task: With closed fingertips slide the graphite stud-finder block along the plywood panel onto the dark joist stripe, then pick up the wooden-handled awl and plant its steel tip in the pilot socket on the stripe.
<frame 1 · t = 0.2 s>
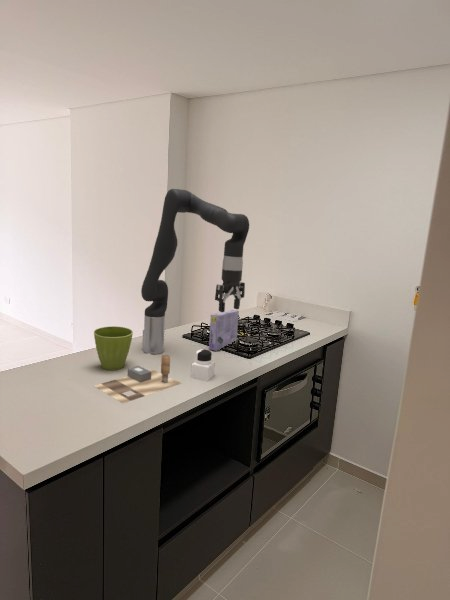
hand: (229, 310, 158), 29 cm above the worktop, fingers open, 8 cm apart
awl: (164, 381, 156), point 1 cm above the worktop, touching subfloor panel
finder: (139, 377, 158), point 1 cm above the worktop, touching subfloor panel
subfloor panel: (138, 388, 152), on the worktop
cake pan box: (223, 346, 207), on the worktop
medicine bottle: (202, 380, 164), on the worktop
flower pot: (113, 370, 168), on the worktop
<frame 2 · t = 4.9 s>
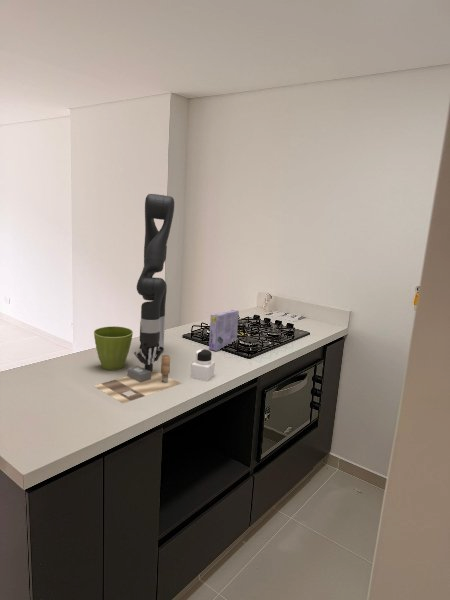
hand: (148, 372, 161), 3 cm above the worktop, fingers closed
finder: (139, 377, 158), point 1 cm above the worktop, touching gripper, subfloor panel
everything else where it was.
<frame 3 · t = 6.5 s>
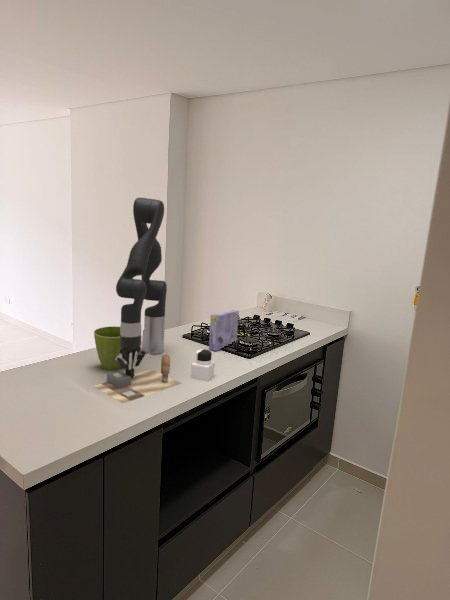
hand: (129, 377, 154), 3 cm above the worktop, fingers closed
finder: (118, 383, 152), point 1 cm above the worktop, touching gripper, subfloor panel
everything else where it was.
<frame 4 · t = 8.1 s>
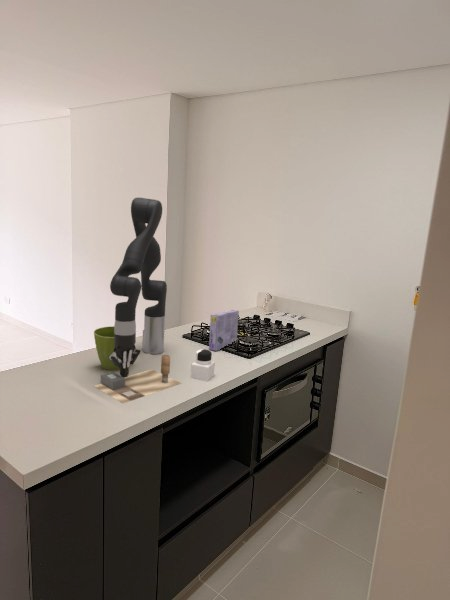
hand: (124, 376, 153), 4 cm above the worktop, fingers closed
finder: (112, 384, 150), point 1 cm above the worktop, touching subfloor panel
everything else where it was.
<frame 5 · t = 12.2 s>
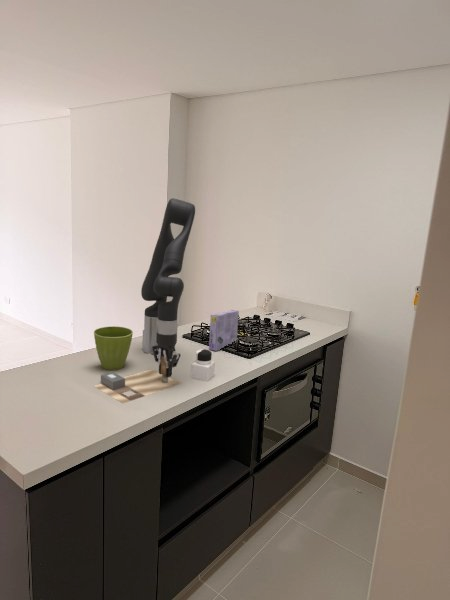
hand: (165, 375, 155), 4 cm above the worktop, fingers closed on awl, 3 cm apart
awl: (164, 381, 156), point 1 cm above the worktop, touching gripper, subfloor panel
everything else where it was.
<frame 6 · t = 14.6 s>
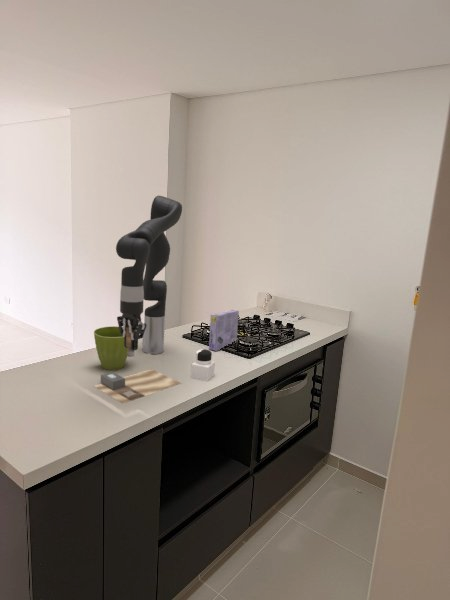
hand: (130, 348, 141), 18 cm above the worktop, fingers closed on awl, 3 cm apart
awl: (130, 355, 141), point 15 cm above the worktop, touching gripper
everything else where it was.
when the fingers open (4 cm above the worktop, at t = 16.8 s): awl stays where it is, resting in subfloor panel.
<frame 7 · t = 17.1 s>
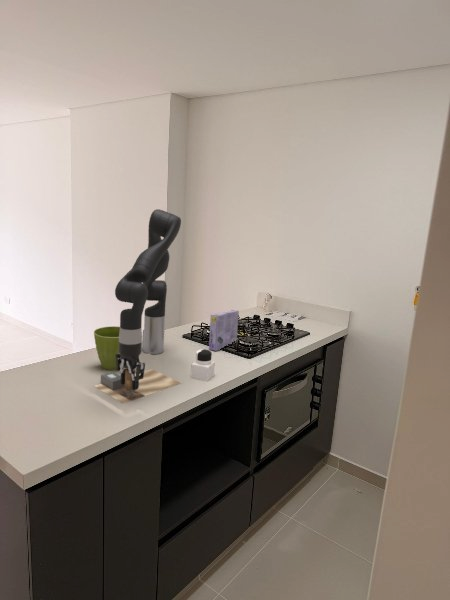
hand: (129, 386, 144), 4 cm above the worktop, fingers open, 6 cm apart
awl: (129, 397, 144), resting in subfloor panel
everything else where it was.
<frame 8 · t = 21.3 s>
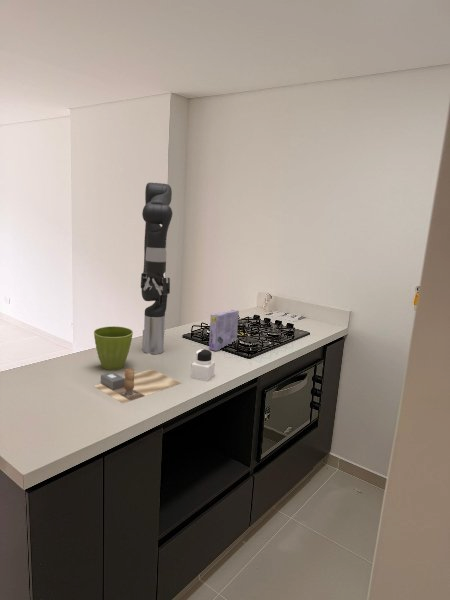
hand: (154, 302, 157), 30 cm above the worktop, fingers open, 8 cm apart
nothing on the worktop moved.
at the end: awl 0.1 cm from the target spot on the subfloor panel, point 0.0 cm above the subfloor panel's base; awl tilted 0°; finder inside the target area (0.7 cm from its centre), point 1.5 cm above the worktop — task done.
